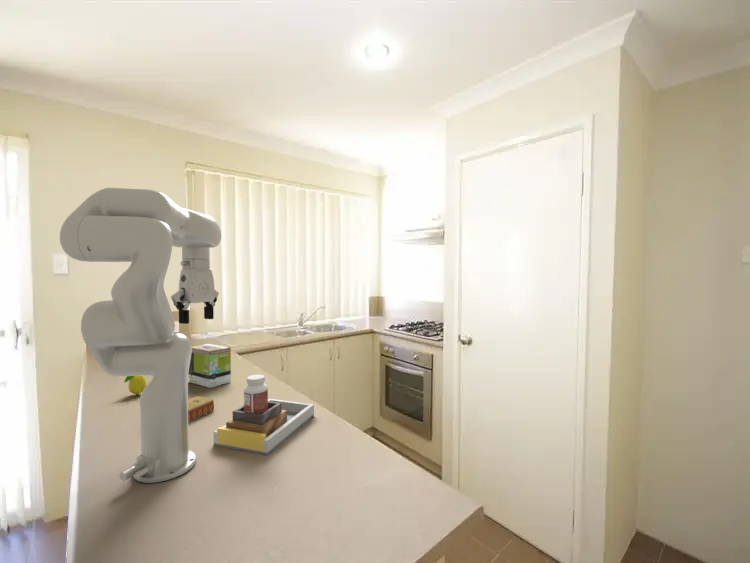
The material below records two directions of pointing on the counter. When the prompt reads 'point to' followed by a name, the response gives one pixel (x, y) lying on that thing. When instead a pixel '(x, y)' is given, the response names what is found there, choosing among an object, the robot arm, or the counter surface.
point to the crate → (259, 419)
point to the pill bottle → (256, 395)
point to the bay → (258, 441)
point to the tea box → (210, 365)
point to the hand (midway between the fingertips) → (197, 321)
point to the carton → (199, 407)
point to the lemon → (136, 384)
